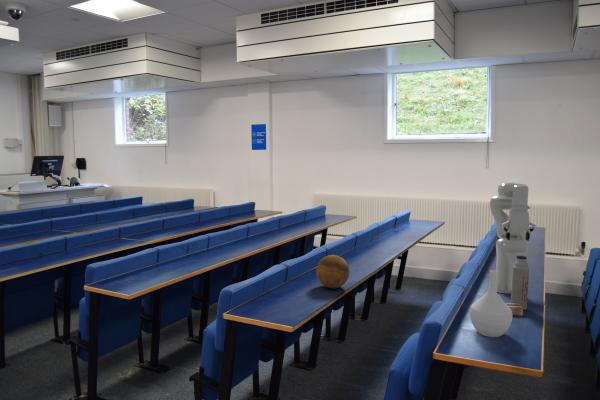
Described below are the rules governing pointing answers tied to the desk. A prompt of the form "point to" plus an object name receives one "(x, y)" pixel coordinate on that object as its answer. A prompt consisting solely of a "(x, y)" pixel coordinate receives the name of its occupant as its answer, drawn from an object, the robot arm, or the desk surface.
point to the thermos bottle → (520, 282)
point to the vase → (491, 312)
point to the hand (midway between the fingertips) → (517, 239)
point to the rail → (515, 308)
